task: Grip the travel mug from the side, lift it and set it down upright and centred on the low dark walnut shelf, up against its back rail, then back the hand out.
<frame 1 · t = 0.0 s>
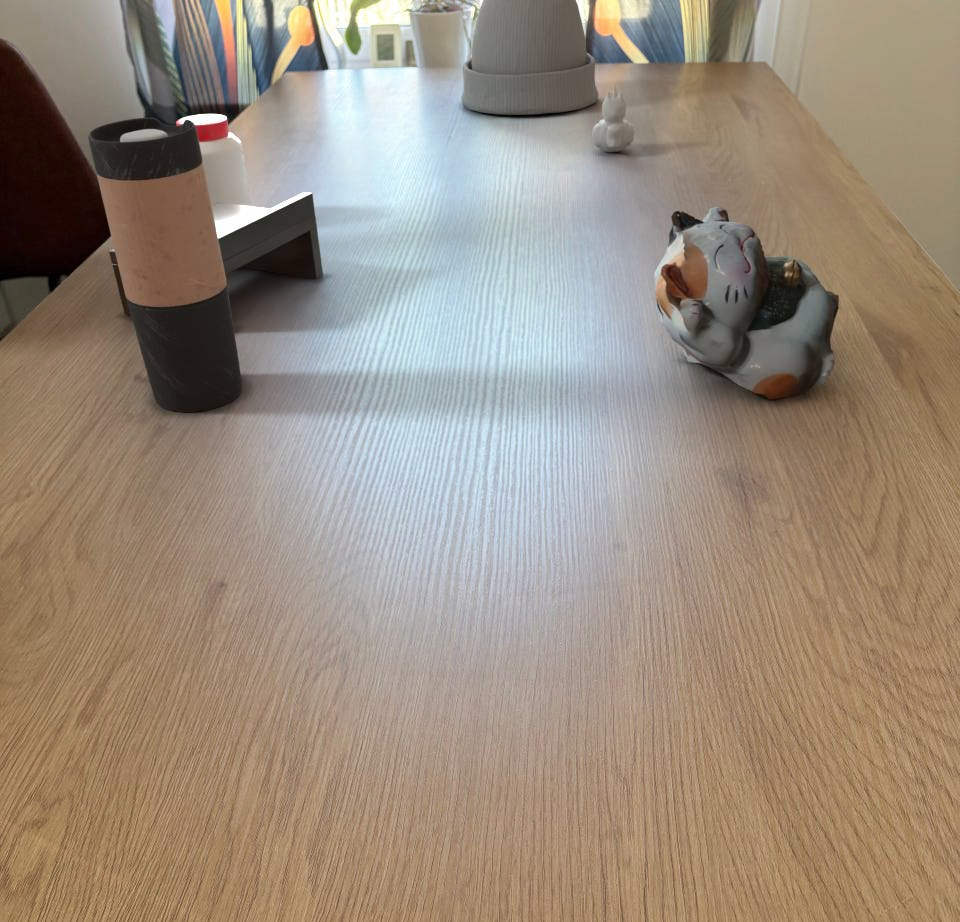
lucky cat figurine: (741, 372, 87), on the table
beanie hat: (529, 104, 166), on the table
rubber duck: (612, 154, 141), on the table
shelf: (226, 294, 105), on the table
travel mug: (199, 395, 88), on the table
pill bottle: (220, 225, 124), on the table
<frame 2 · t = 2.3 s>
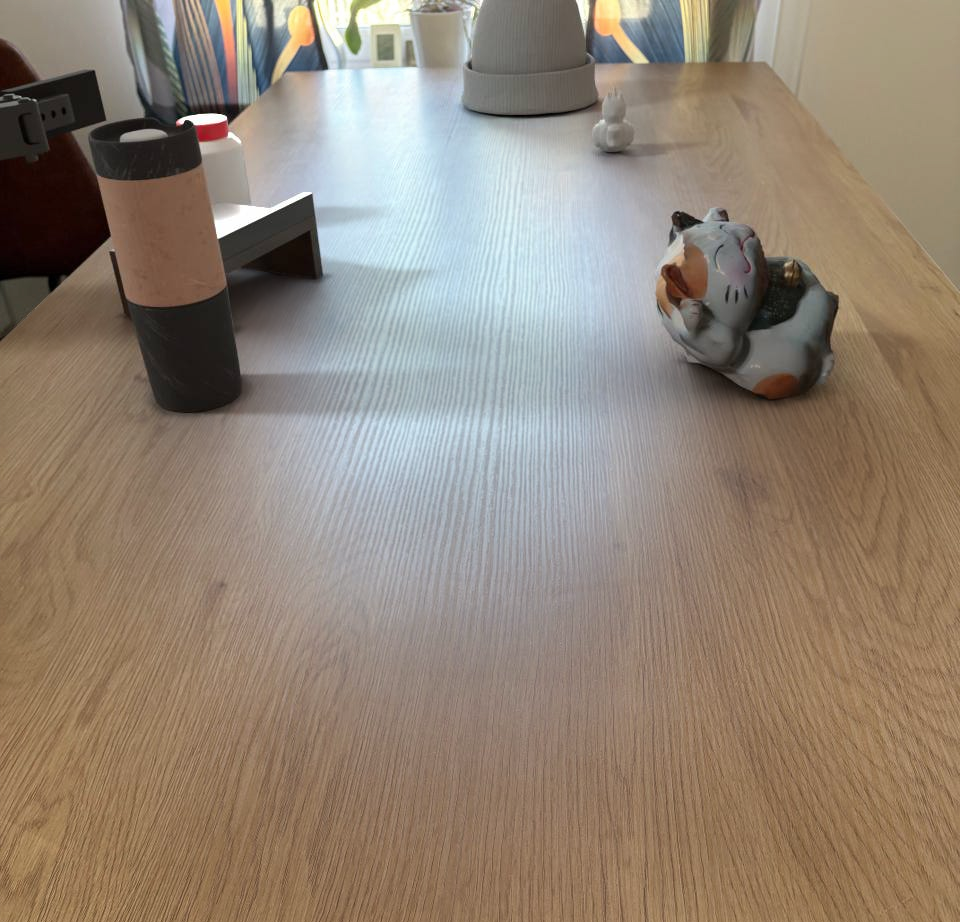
hand: (12, 90, 66), 24 cm above the table, tool horizontal, fingers open, 13 cm apart
nothing on the table moved.
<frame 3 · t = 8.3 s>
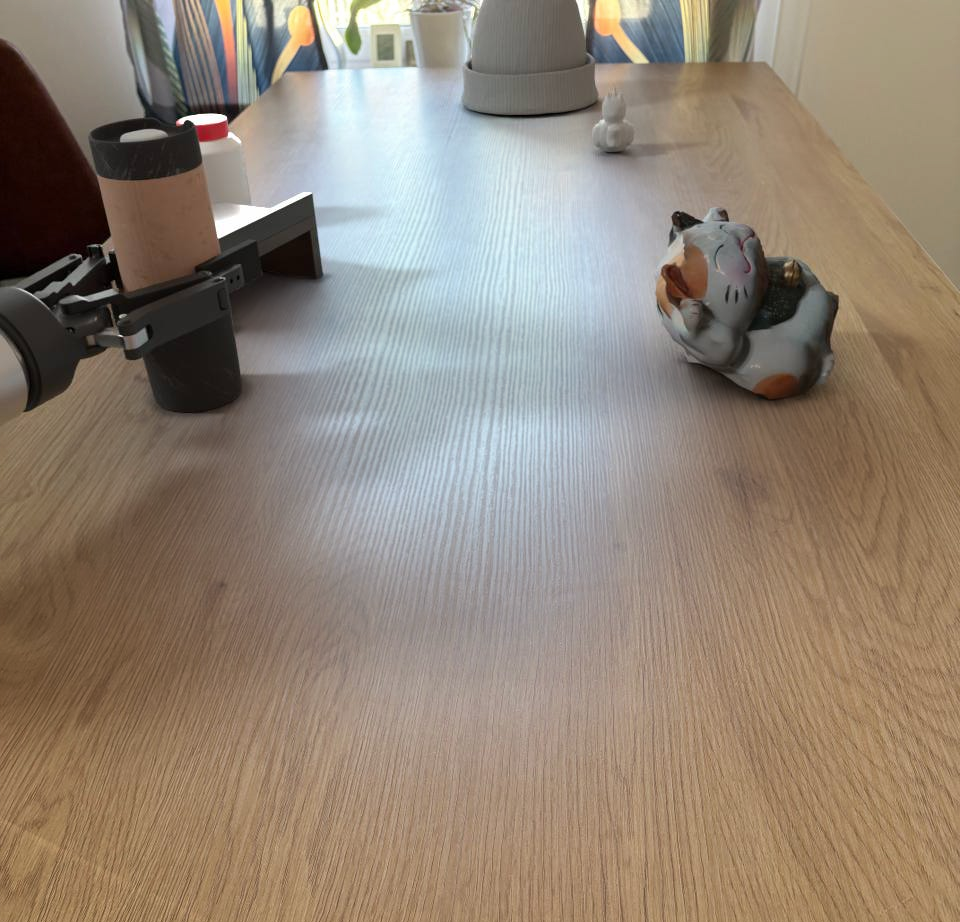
hand: (212, 251, 85), 10 cm above the table, tool horizontal, fingers closed on travel mug, 8 cm apart
travel mug: (199, 395, 88), on the table, touching gripper
everything else where it was.
when the fingers open (16 cm above the table, at t = 16.6 s): travel mug stays where it is, resting on shelf.
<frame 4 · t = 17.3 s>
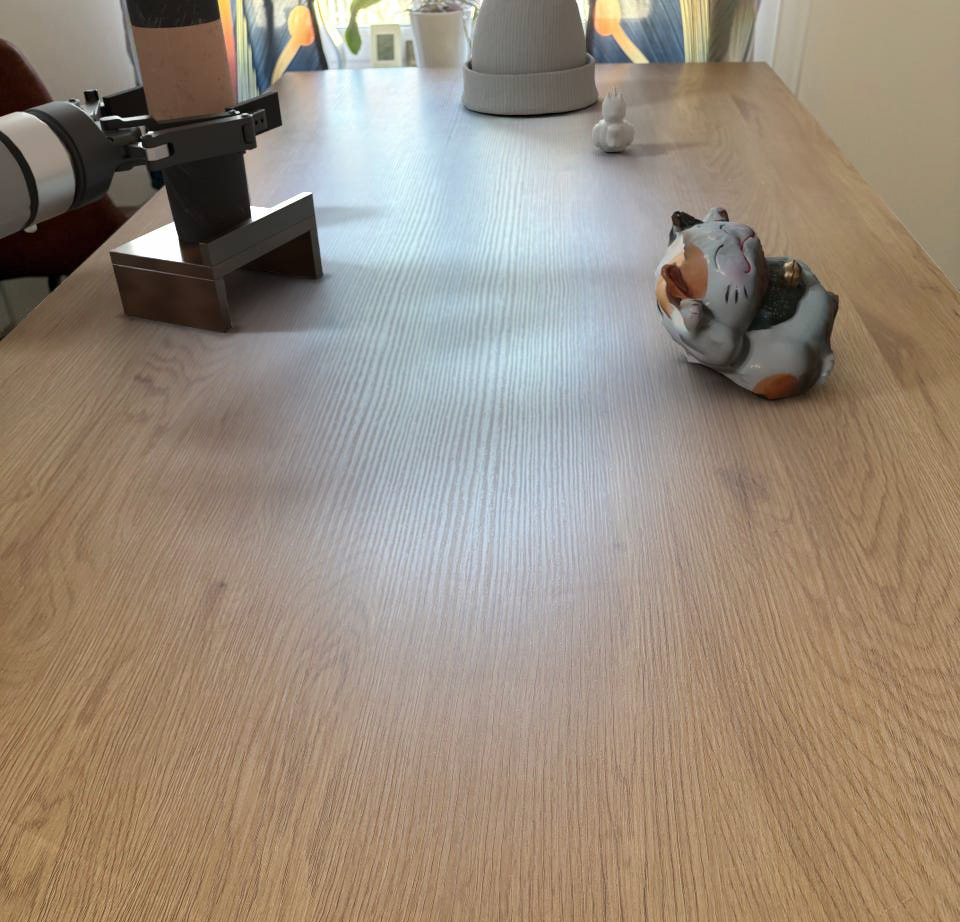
hand: (216, 103, 98), 16 cm above the table, tool horizontal, fingers open, 13 cm apart
travel mug: (215, 234, 102), point 6 cm above the table, touching shelf
everything else where it was.
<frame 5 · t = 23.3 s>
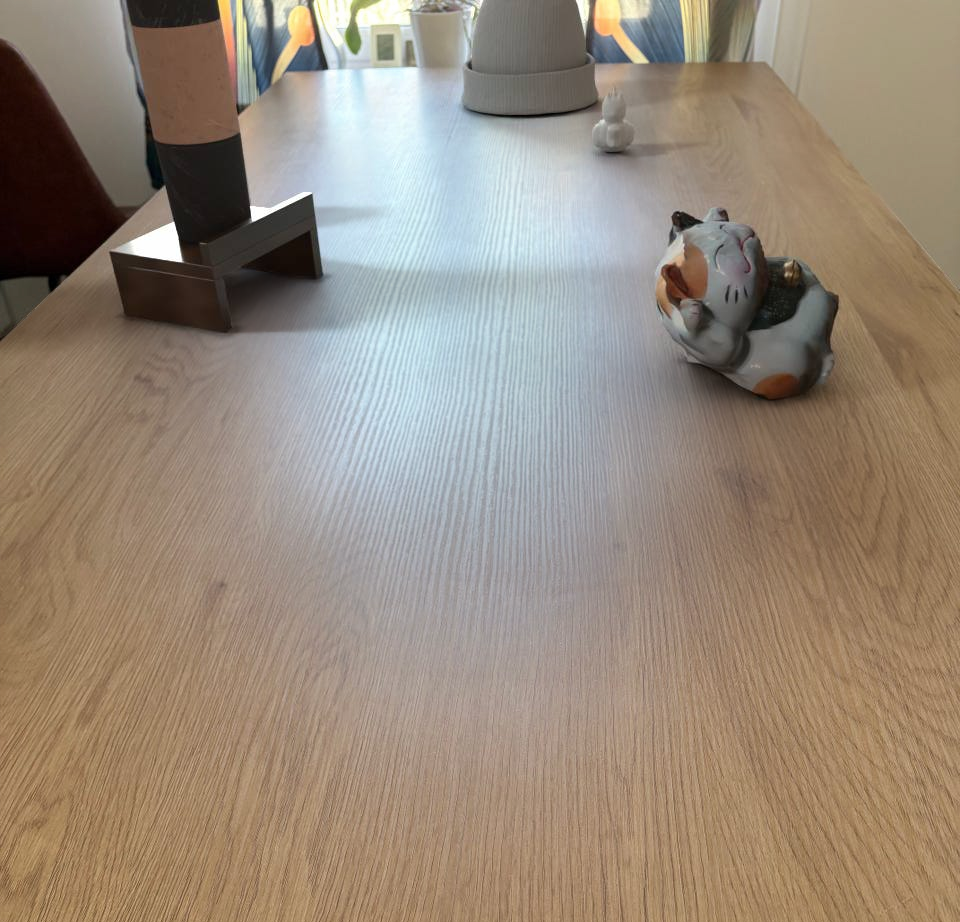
nothing on the table moved.
at the end: travel mug inside the target area on the shelf (0.1 cm from its centre), point 5.8 cm above the shelf's base; travel mug tilted 0°; the gripper is holding nothing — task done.
